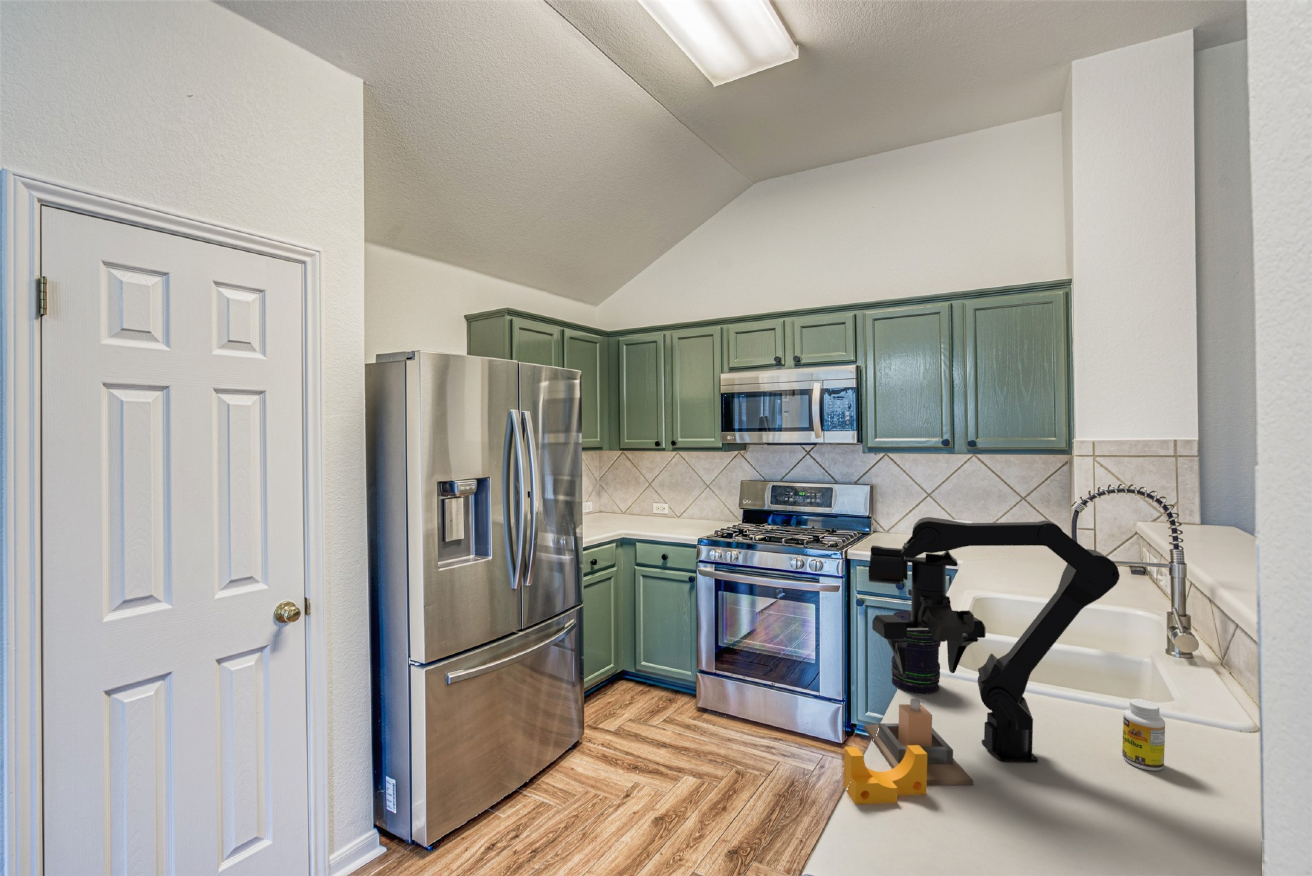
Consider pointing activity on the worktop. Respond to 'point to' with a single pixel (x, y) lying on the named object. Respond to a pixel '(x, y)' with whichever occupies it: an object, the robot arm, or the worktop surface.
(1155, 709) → the supplement bottle
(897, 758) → the end holder
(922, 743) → the connector
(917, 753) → the pipe clamp
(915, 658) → the storage jar
